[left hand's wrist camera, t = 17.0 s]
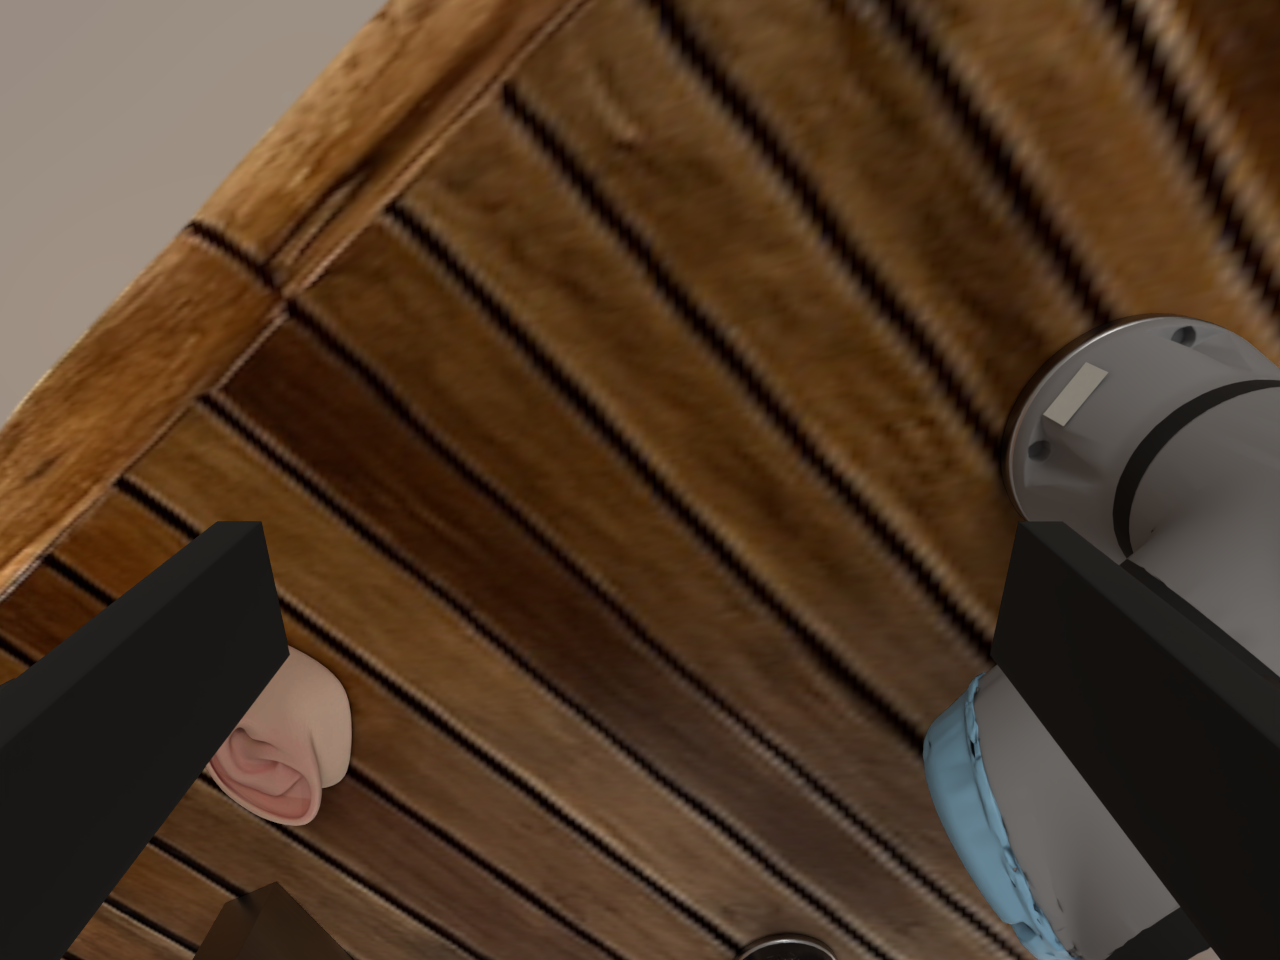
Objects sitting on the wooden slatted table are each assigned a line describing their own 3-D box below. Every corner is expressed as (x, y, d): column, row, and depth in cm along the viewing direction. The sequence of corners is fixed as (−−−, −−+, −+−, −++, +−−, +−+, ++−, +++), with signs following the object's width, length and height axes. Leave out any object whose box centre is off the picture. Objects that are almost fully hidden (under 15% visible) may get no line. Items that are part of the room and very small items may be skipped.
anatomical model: (171, 653, 46) (350, 698, 47) (205, 619, 50) (371, 661, 51) (156, 804, 51) (320, 841, 52) (189, 762, 54) (341, 798, 56)
